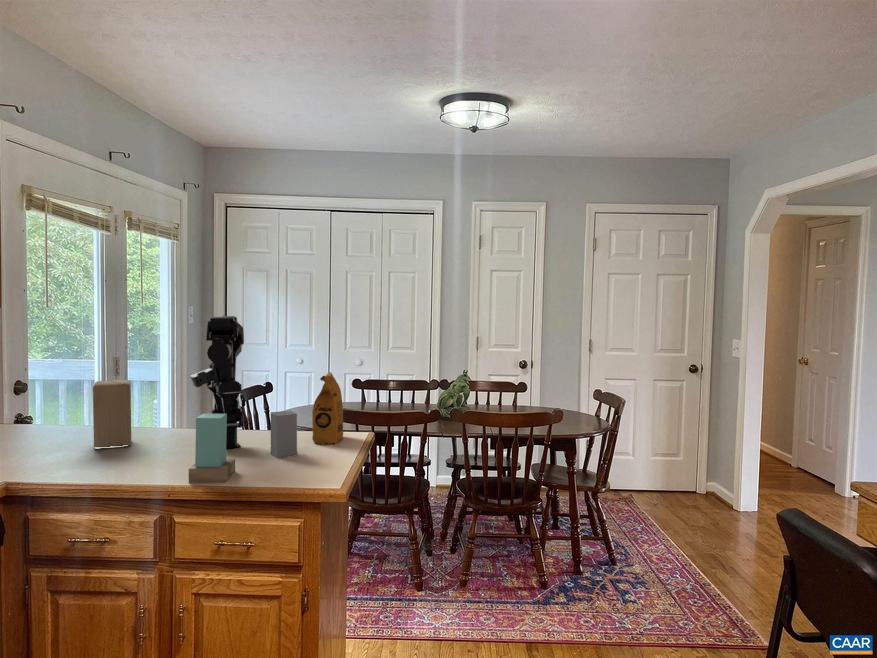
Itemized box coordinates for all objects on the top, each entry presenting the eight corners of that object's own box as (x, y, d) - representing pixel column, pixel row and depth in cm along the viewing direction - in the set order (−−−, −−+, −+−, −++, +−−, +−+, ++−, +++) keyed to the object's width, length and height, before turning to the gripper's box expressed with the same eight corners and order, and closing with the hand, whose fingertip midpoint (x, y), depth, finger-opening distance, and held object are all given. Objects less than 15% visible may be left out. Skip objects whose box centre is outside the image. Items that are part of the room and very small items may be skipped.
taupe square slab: (200, 473, 153) (200, 459, 153) (235, 473, 154) (235, 458, 154) (188, 484, 144) (188, 468, 144) (225, 484, 145) (225, 468, 145)
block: (93, 450, 174) (92, 385, 173) (95, 443, 183) (94, 380, 182) (131, 447, 178) (130, 383, 178) (131, 440, 187) (130, 379, 186)
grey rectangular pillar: (270, 453, 173) (270, 412, 172) (290, 450, 176) (290, 410, 175) (276, 458, 168) (276, 415, 167) (296, 455, 171) (296, 413, 170)
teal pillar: (202, 460, 151) (203, 413, 151) (225, 460, 152) (226, 413, 151) (195, 467, 145) (196, 417, 145) (219, 467, 146) (220, 418, 145)
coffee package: (307, 444, 184) (307, 376, 183) (318, 435, 197) (318, 371, 196) (337, 445, 183) (337, 376, 182) (346, 436, 196) (347, 371, 195)
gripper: (186, 358, 170) (187, 410, 171) (199, 364, 154) (200, 421, 155) (225, 356, 176) (226, 407, 177) (241, 362, 161) (242, 417, 161)
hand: (223, 413), depth 167 cm, fingers open, 9 cm apart
